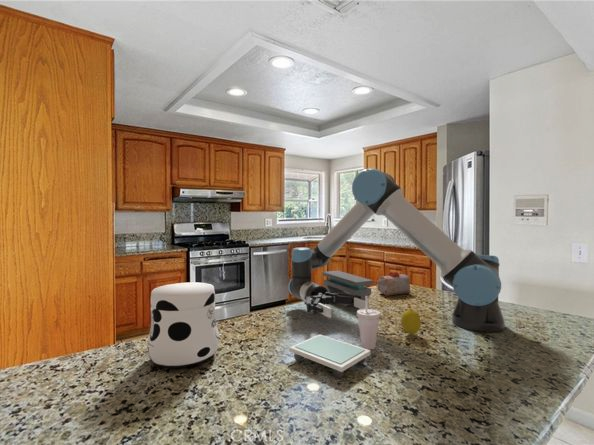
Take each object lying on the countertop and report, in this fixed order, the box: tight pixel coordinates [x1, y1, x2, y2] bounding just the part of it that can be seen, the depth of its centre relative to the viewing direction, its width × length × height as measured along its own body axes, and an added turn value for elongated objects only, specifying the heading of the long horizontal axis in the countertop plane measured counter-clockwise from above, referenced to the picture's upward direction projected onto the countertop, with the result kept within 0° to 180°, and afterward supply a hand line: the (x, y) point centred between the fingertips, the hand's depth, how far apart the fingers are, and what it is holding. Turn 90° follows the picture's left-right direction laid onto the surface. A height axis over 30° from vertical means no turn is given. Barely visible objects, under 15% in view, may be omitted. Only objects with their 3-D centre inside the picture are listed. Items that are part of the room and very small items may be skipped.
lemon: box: [401, 308, 422, 336], centre depth 99 cm, size 6×6×8 cm
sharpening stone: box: [321, 270, 374, 307], centre depth 137 cm, size 25×8×11 cm, turn 26°
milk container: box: [146, 281, 220, 369], centre depth 85 cm, size 17×17×18 cm
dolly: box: [288, 333, 372, 379], centre depth 82 cm, size 16×12×4 cm
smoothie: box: [356, 296, 381, 350], centre depth 91 cm, size 6×6×14 cm
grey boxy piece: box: [377, 271, 411, 297], centre depth 150 cm, size 14×8×10 cm, turn 111°
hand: (349, 309), depth 99 cm, fingers open, 13 cm apart
